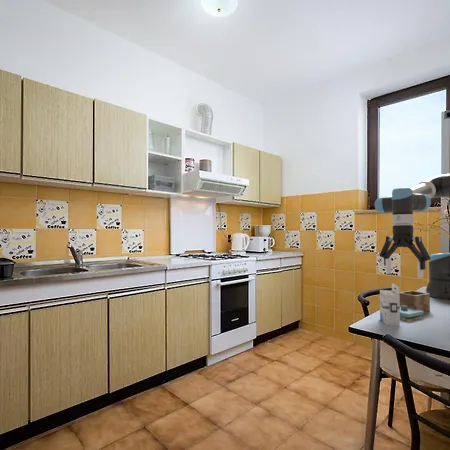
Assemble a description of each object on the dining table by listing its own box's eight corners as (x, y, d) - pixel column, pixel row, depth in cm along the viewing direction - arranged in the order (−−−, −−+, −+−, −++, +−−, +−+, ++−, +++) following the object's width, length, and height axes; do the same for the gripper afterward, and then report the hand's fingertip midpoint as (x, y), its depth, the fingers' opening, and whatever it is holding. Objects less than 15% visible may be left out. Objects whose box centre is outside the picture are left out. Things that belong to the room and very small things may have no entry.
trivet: (400, 312, 134) (400, 311, 134) (421, 317, 126) (421, 316, 126) (387, 315, 130) (387, 314, 130) (408, 320, 122) (408, 319, 122)
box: (411, 307, 142) (411, 290, 142) (429, 311, 135) (429, 293, 135) (398, 310, 137) (397, 292, 138) (416, 315, 130) (415, 296, 130)
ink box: (379, 318, 125) (379, 282, 126) (392, 319, 124) (392, 282, 125) (386, 325, 117) (385, 286, 117) (400, 326, 116) (399, 286, 116)
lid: (400, 311, 135) (400, 302, 135) (423, 316, 126) (423, 307, 126) (385, 314, 130) (385, 304, 130) (408, 320, 122) (408, 310, 122)
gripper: (370, 225, 139) (371, 272, 138) (428, 224, 117) (430, 280, 116) (381, 225, 142) (382, 271, 142) (439, 224, 120) (441, 278, 120)
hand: (403, 275), depth 129 cm, fingers open, 13 cm apart
